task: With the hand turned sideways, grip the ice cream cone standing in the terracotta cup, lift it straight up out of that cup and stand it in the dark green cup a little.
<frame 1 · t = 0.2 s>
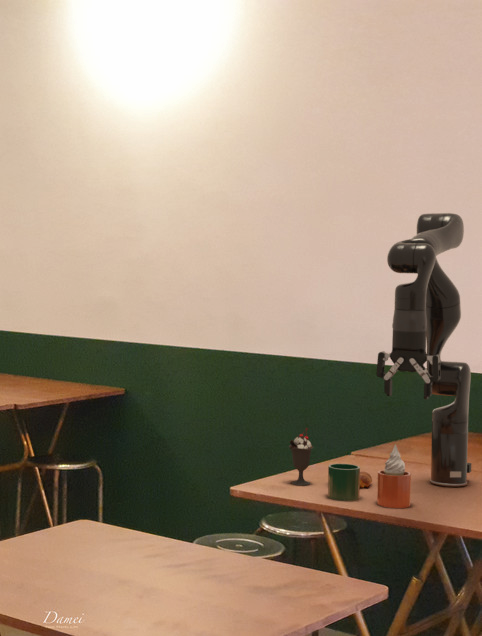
hand: (407, 397, 257), 29 cm above the table, tool pointing down, fingers open, 8 cm apart
stand: (343, 497, 280), on the table
sundae: (300, 484, 297), on the table
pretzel: (350, 485, 295), on the table
ice cream cone: (393, 504, 272), resting on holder
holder: (393, 504, 273), on the table
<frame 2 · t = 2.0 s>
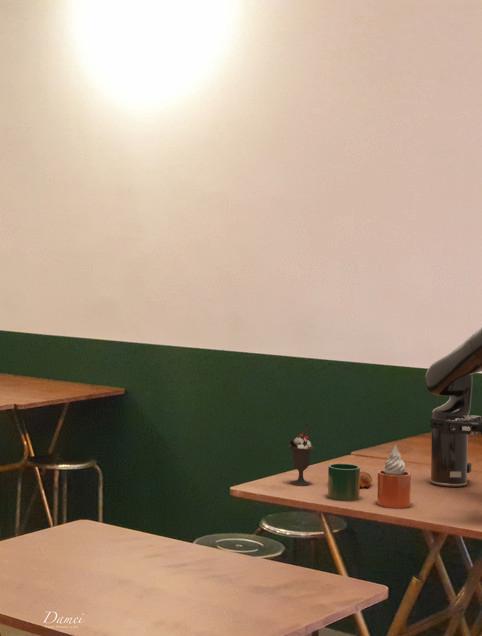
hand: (438, 421, 264), 22 cm above the table, tool horizontal, fingers open, 8 cm apart
nothing on the table moved.
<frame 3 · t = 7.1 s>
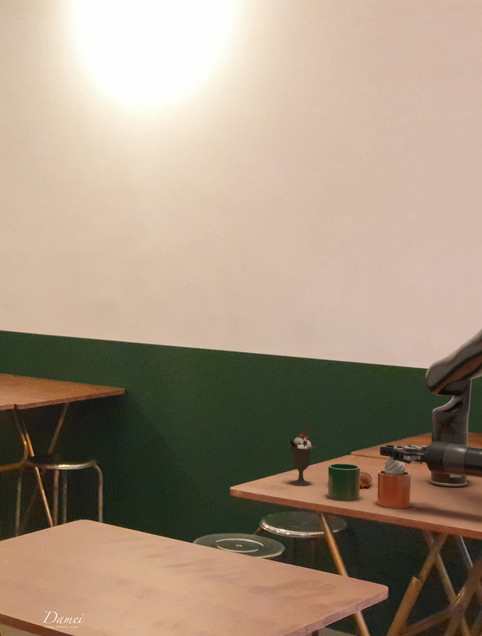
hand: (383, 449, 274), 13 cm above the table, tool horizontal, fingers closed on ice cream cone, 2 cm apart
ice cream cone: (393, 504, 272), resting on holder, touching gripper
everything else where it was.
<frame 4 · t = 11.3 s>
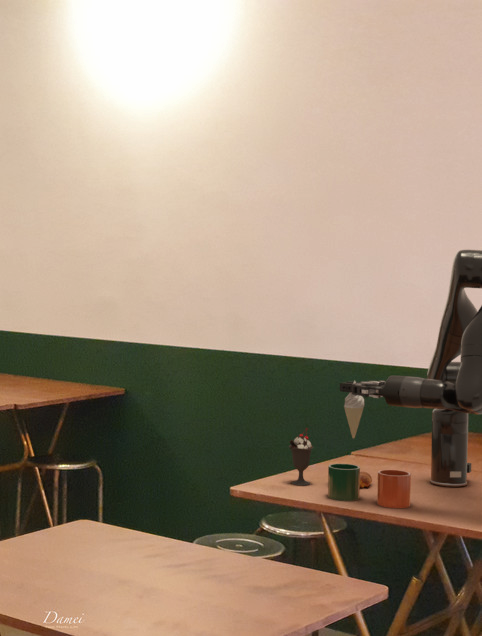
hand: (343, 386, 279), 29 cm above the table, tool horizontal, fingers closed on ice cream cone, 2 cm apart
ice cream cone: (353, 439, 278), point 15 cm above the table, touching gripper
everything else where it was.
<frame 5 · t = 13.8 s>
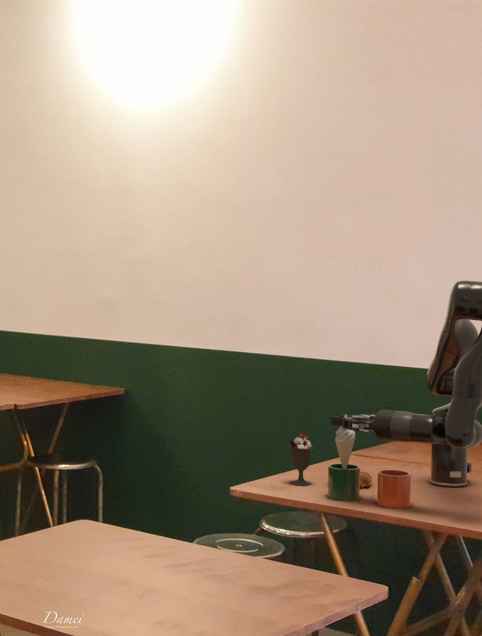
hand: (334, 419, 281), 20 cm above the table, tool horizontal, fingers closed on ice cream cone, 2 cm apart
ice cream cone: (344, 472, 280), point 7 cm above the table, touching gripper
everything else where it was.
when the fingers open (13 cm above the table, at t = 15.8 s): ice cream cone stays where it is, resting on stand.
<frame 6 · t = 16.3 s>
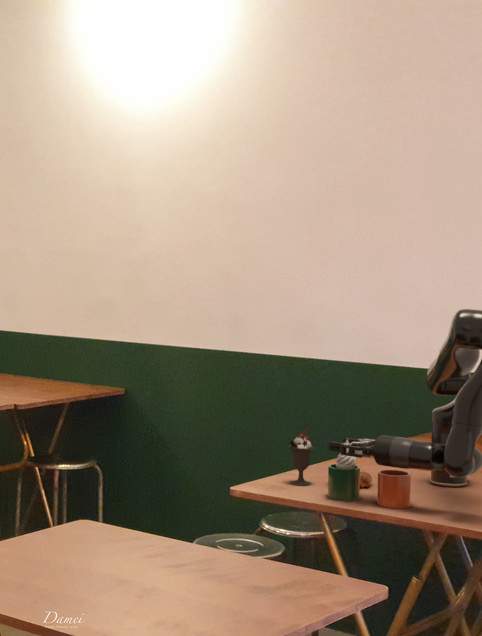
hand: (336, 444, 281), 14 cm above the table, tool horizontal, fingers open, 7 cm apart
ice cream cone: (344, 497, 280), resting on stand
everything else where it was.
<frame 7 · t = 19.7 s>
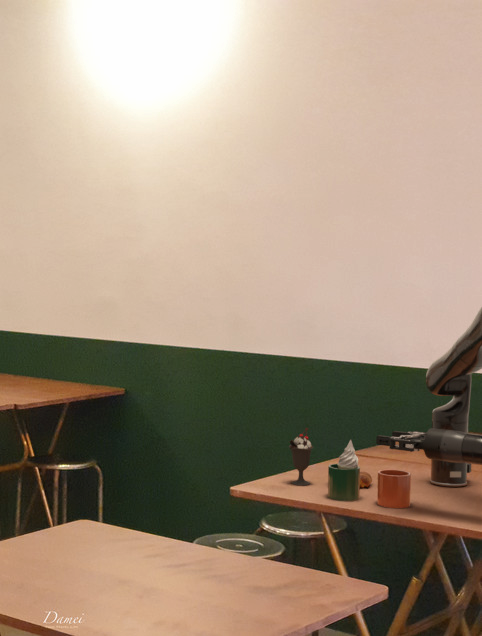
hand: (384, 437, 272), 17 cm above the table, tool horizontal, fingers open, 8 cm apart
nothing on the table moved.
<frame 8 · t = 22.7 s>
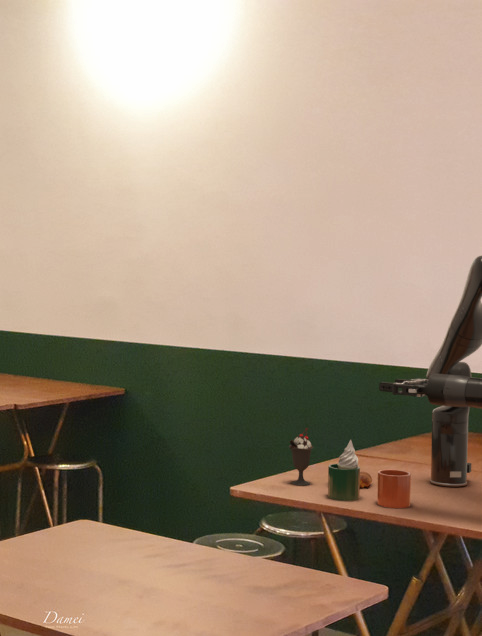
hand: (387, 384, 271), 30 cm above the table, tool horizontal, fingers open, 8 cm apart
nothing on the table moved.
at the end: ice cream cone 0.3 cm off-centre in the stand, point 0.1 cm above the stand's base; ice cream cone tilted 5°; the gripper is holding nothing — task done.
